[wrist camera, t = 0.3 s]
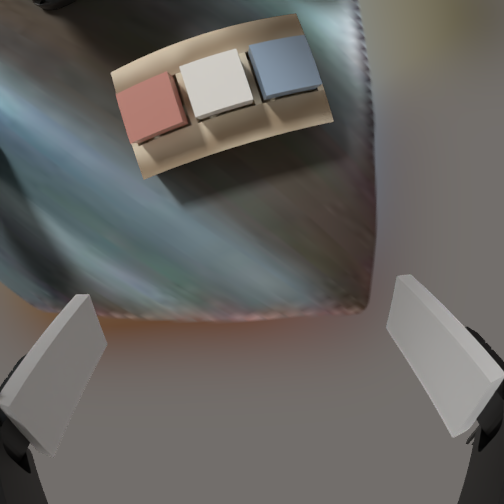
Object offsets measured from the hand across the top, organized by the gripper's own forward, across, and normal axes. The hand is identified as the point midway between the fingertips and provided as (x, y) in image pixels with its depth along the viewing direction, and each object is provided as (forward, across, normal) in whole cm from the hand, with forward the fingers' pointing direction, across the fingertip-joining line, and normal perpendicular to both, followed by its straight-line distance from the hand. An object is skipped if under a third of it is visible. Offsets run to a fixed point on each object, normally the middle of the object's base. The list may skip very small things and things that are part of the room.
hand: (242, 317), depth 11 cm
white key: (+22, -2, +13) cm, 25 cm away
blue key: (+22, +5, +15) cm, 27 cm away
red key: (+22, -9, +11) cm, 26 cm away
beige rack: (+27, -2, +13) cm, 30 cm away
